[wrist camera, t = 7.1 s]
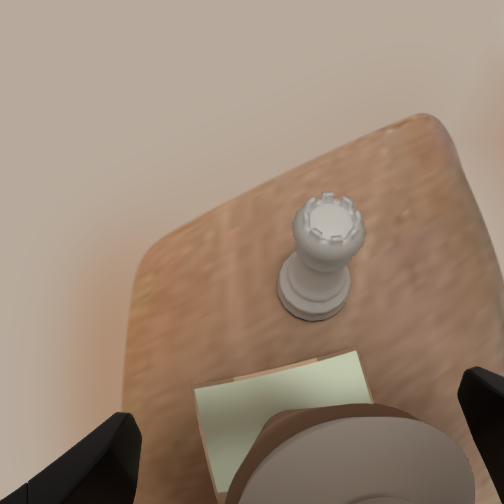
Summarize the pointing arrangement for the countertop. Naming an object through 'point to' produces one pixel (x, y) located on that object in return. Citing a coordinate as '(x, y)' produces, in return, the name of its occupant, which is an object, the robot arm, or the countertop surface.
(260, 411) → the board
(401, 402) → the countertop surface
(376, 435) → the pepper mill
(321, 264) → the rook chess piece
